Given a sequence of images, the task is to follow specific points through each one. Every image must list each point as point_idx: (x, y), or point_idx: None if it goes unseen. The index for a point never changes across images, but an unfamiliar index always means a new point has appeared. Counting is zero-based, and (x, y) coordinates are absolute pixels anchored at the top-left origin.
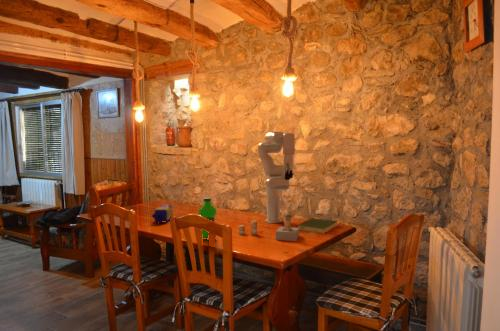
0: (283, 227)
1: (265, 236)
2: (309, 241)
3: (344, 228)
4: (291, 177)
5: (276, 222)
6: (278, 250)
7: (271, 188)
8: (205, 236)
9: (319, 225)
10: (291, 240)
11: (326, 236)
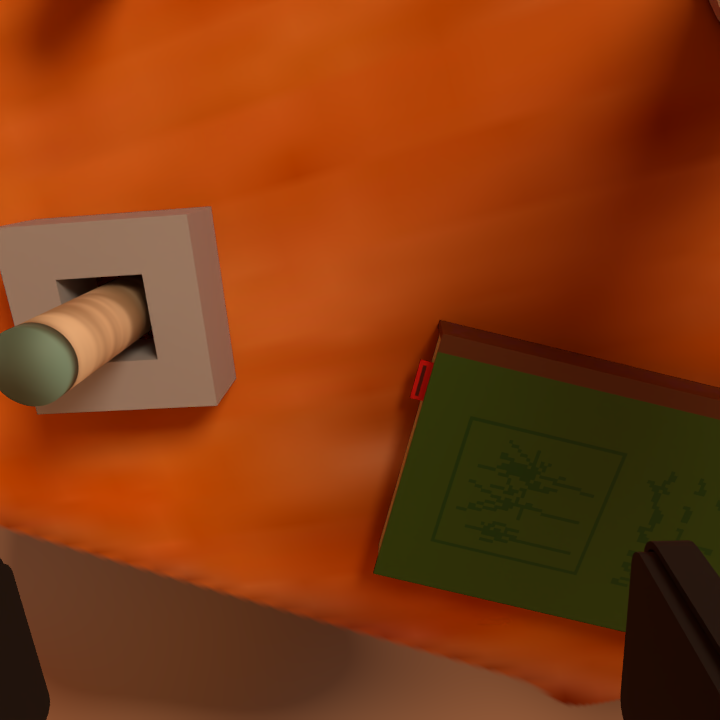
0: (172, 259)
1: (96, 85)
2: (107, 480)
3: (585, 665)
4: (632, 698)
5: (716, 11)
6: None
7: None
8: None
9: (478, 527)
10: None
11: (293, 570)
